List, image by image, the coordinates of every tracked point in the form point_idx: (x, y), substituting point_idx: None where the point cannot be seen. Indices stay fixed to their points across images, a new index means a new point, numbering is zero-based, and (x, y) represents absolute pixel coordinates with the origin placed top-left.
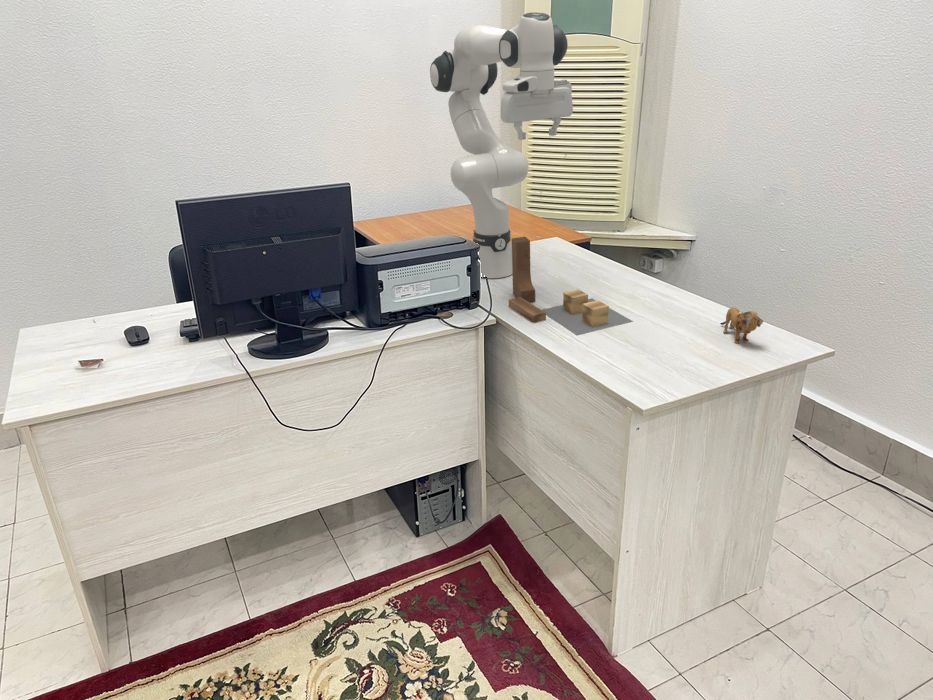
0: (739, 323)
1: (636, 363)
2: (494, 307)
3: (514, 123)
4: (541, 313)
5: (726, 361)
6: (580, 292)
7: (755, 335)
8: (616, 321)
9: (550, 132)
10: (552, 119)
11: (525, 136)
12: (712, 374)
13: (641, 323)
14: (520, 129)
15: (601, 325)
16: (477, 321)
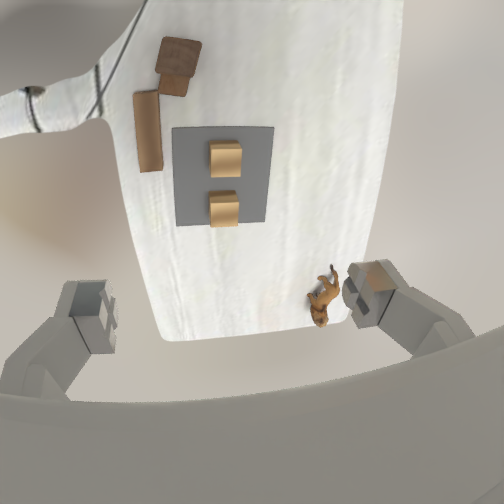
0: (312, 312)
1: (199, 295)
2: (115, 79)
3: (6, 391)
4: (154, 170)
5: (271, 315)
6: (235, 163)
7: None
8: (246, 213)
9: (358, 288)
10: (437, 339)
11: (113, 329)
12: (244, 326)
13: (271, 226)
14: (65, 379)
15: None
16: (72, 123)
